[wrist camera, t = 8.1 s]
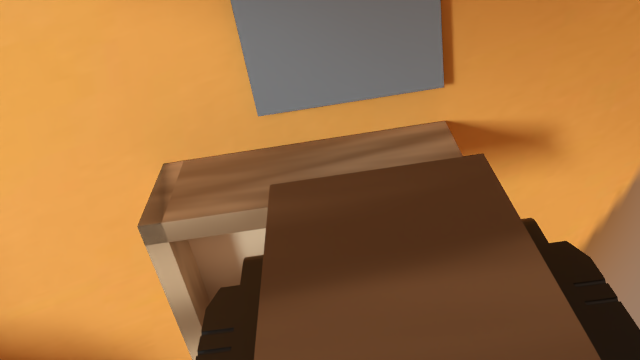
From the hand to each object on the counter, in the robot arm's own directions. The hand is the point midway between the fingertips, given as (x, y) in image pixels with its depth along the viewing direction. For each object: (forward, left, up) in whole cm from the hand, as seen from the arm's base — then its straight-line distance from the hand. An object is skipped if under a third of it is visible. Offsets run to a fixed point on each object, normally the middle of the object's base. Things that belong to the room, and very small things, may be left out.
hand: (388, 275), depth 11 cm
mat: (0, 0, -20) cm, 20 cm away
